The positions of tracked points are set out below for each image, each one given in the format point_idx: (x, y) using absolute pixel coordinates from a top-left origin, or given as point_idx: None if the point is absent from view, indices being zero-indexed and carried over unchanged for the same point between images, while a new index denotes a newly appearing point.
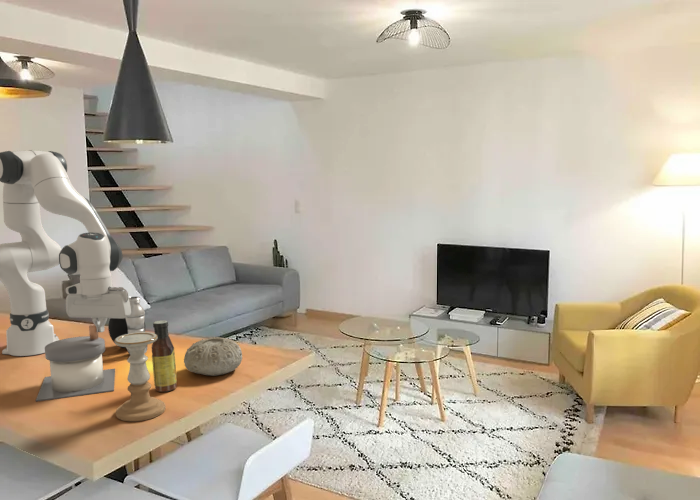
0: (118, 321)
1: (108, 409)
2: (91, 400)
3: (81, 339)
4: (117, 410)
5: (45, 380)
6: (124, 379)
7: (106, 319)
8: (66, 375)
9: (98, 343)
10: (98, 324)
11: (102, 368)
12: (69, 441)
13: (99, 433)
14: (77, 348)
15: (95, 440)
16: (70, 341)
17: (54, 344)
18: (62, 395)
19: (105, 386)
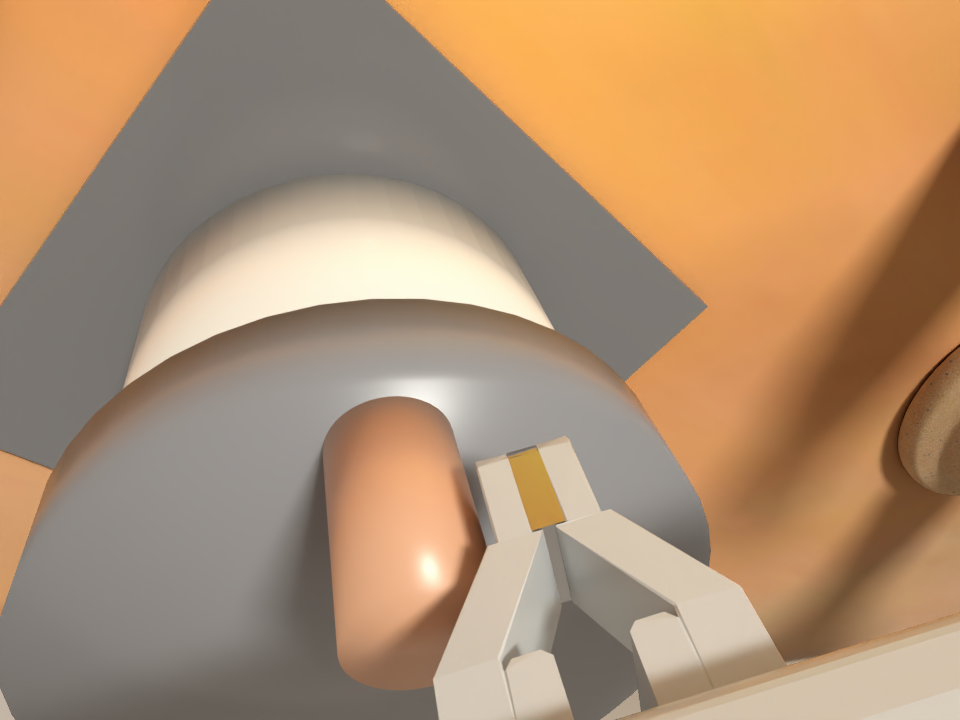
0: None
1: (830, 452)
2: (667, 441)
3: (265, 558)
4: (932, 484)
5: (41, 453)
6: (614, 92)
7: (748, 616)
8: None
9: (652, 522)
10: (547, 618)
11: (529, 293)
12: (843, 627)
13: (914, 562)
14: (567, 681)
15: (926, 586)
16: (223, 652)
17: None
18: None
19: (607, 298)
